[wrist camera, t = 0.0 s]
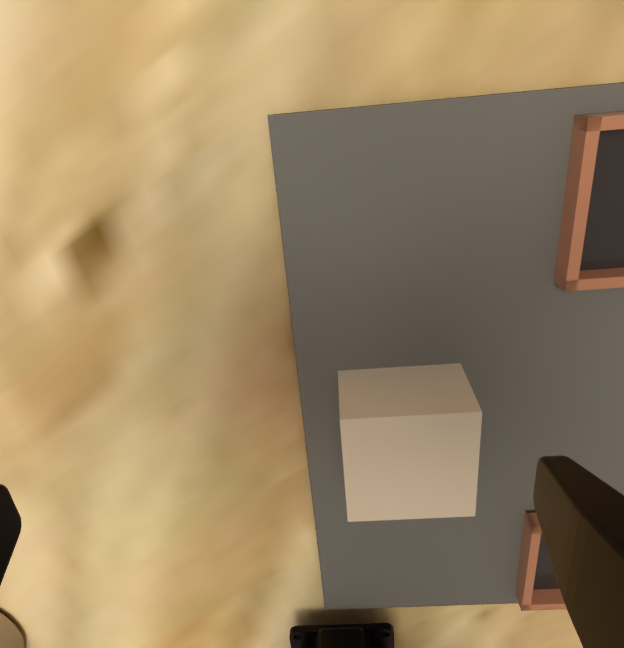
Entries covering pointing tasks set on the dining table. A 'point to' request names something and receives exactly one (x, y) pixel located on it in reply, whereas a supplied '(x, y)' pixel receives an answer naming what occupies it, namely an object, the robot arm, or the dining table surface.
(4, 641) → the travel mug
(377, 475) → the cream block
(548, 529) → the robot arm
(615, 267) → the tray
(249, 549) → the dining table surface
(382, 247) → the track mat
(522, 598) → the frame
